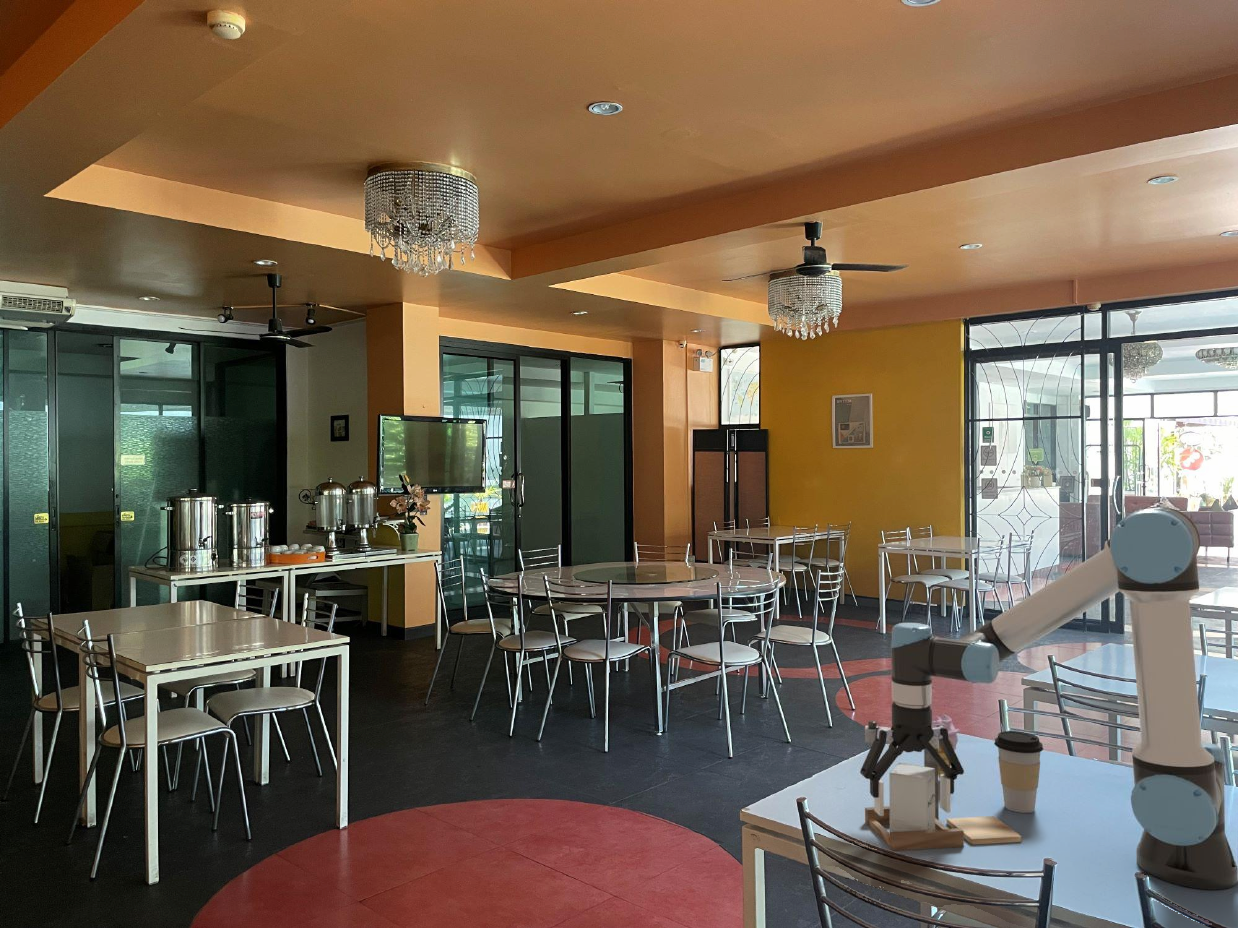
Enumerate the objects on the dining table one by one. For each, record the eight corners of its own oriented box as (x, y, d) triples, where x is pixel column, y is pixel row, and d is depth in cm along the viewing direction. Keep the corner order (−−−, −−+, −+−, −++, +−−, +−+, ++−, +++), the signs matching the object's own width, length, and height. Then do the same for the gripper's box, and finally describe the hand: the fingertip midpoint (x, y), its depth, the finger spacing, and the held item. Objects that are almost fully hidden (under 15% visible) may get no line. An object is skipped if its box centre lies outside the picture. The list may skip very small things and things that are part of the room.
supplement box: (927, 845, 168) (927, 778, 168) (888, 836, 172) (887, 771, 172) (936, 831, 175) (936, 767, 175) (898, 823, 179) (897, 761, 179)
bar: (938, 744, 183) (938, 725, 183) (938, 749, 180) (938, 729, 180) (865, 738, 187) (865, 719, 187) (865, 742, 185) (864, 723, 185)
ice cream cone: (962, 779, 203) (962, 714, 203) (956, 787, 198) (956, 720, 198) (932, 774, 207) (932, 710, 207) (926, 782, 202) (925, 716, 202)
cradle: (971, 846, 168) (970, 770, 168) (892, 850, 166) (892, 774, 166) (934, 814, 183) (933, 745, 183) (861, 818, 181) (861, 748, 181)
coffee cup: (1049, 817, 181) (1048, 744, 181) (1000, 814, 183) (999, 741, 183) (1037, 800, 190) (1036, 730, 190) (990, 797, 192) (989, 728, 192)
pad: (1021, 841, 170) (1021, 836, 170) (971, 844, 169) (971, 839, 169) (993, 820, 180) (993, 815, 180) (946, 823, 178) (946, 818, 178)
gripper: (962, 696, 179) (963, 801, 179) (843, 700, 176) (844, 807, 176) (981, 705, 171) (982, 815, 171) (857, 710, 169) (858, 822, 168)
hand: (912, 811), depth 174 cm, fingers open, 13 cm apart
